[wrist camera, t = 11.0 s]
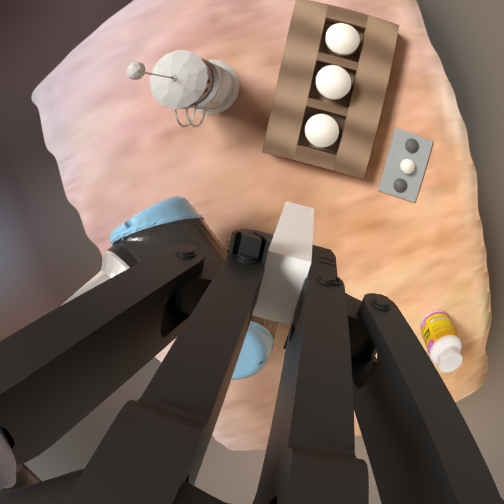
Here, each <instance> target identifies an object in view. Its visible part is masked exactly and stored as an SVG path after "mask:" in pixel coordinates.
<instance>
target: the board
mask: <svg viewBox="0 0 504 504" xmlns="http://www.w3.org/2000/svg"><path fill="white" fill-rule="evenodd" d="M337 23H344V24H348V25H350V26H352V27H353V28H354V29H355V30H356V31H357V32H358V34H359V37H360V43H359V45H358V47H357V49H356V51H355V52H354V53H353V54H352V55H350V56H347V57H338V56H336V55H334V54H332V53H331V52H330V51H329V50H328V49H327V47H326V44H325V38H326V32H327V30H328V29H329V27H331V26H332V25H334V24H337ZM398 29H399V25H397V24H394V23H391V22H388V21H385V20H382V19H379V18H376V17H373V16H370V15H366V14H363V13H359V12H356V11H352V10H348V9H345V8H341V7H337V6H332V5H328V4H323V3H319V2H314V1H309V0H296V1H295V5H294V10H293V14H292V19H291V23H290V27H289V32H288V36H287V41H286V45H285V49H284V54H283V58H282V63H281V67H280V72H279V76H278V81H277V85H276V90H275V95H274V99H273V104H272V108H271V113H270V117H269V122H268V127H267V131H266V136H265V140H264V145H263V150H262V152H263V153H267V154H271V155H276V156H280V157H284V158H288V159H292V160H296V161H300V162H304V163H308V164H311V165H315V166H319V167H322V168H326V169H330V170H333V171H337V172H340V173H344V174H347V175H350V176H354V177H357V178H360V179H364V176H365V172H366V169H367V165H368V162H369V158H370V154H371V151H372V147H373V143H374V139H375V135H376V132H377V128H378V124H379V120H380V115H381V111H382V107H383V103H384V99H385V94H386V90H387V85H388V81H389V76H390V71H391V66H392V61H393V56H394V51H395V46H396V40H397V35H398ZM329 65H336V66H339V67H341V68H343V69H344V70H346V71H347V73H348V74H349V76H350V78H351V88H350V90H349V92H348V93H347V94H346V95H345V96H344V97H342V98H340V99H337V100H330V99H327V98H325V97H323V96H322V95H321V94H320V93H319V92H318V90H317V88H316V76H317V74H318V72H319V71H320V70H321V69H322V68H323V67H325V66H329ZM317 114H325V115H328V116H330V117H332V118H333V119H334V120H335V121H336V123H337V125H338V128H339V135H338V138H337V140H336V141H335V142H334V143H333V144H332V145H330V146H328V147H317V146H315V145H313V144H312V143H310V142H309V140H308V139H307V137H306V135H305V125H306V123H307V121H308V120H309V119H310V118H311V117H312V116H314V115H317Z"/></svg>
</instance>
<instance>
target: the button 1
mask: <svg viewBox="0 0 504 504" xmlns="http://www.w3.org/2000/svg"><path fill="white" fill-rule="evenodd" d="M305 135H306V137H307V139H308V140H309V142H310V143H312V144H313V145H315V146H317V147H328V146H330V145H332V144H333V143H334V142H335V141H336V140H337V138H338V135H339V128H338V125H337V123H336V121H335V120H334V119H333V118H332V117H330V116H328V115H325V114H317V115H314V116H312V117H311V118H310V119H309V120H308V121H307V123H306V125H305Z"/></svg>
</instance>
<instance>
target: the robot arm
mask: <svg viewBox="0 0 504 504" xmlns="http://www.w3.org/2000/svg"><path fill="white" fill-rule="evenodd" d="M313 220H314V209H313V208H310V207H306V206H302V205H298V204H295V203H291V202H287V201H286V203H285V206H284V209H283V211H282V214H281V217H280V220H279V222H278V225H277V228H276V230H275V233H274V235H270V234H266V233H263V232H259V231H255V230H248V229H240V230H235V231H234V232H233V233H232V238H231V243H230V245H229V246H228V247H227V248H226V249H225V248H224V247H223V246H222V244H221V243H220V242H219V240H218V239H217V238H216V236H215V235H214V234H213V232H212V231H211V229H210V228H209V227H208V225H207V224H206V223H205V221H204V218H203V216H201V215H199V214H198V213H197V211H196V210H195V209H194V208H193V206H192V205H191V204H190V203H189V201H188V200H186V199H185V198H183V197H179V196H175V197H170V198H167V199H164V200H162V201H160V202H158V203H156V204H154V205H152V206H150V207H148V208H146V209H144V210H143V211H141V212H139V213H138V214H136V215H134V216H133V217H131V219H130V220H127V221H126V222H125V223H123V224H121V225H120V226H118V227H117V228H116V229H115V230H114V231H113V232H112V233H111V234H110V240H111V241H110V242H111V244H112V245H113V246H112V247H111V248H109V249H108V250H107V251H106V252H105V253H104V255H103V263H102V269H101V271H100V272H99V273H98V274H97V275H96V276H94V278H92V279H91V280H90V281H89V282H87V283H86V284H85V285H84V286H83V287H82V288H80V289H79V290H78V291H77V292H76V293H75V294H74V295H72V296H71V297H70V298H69V299H68V300H67V301H66V302H64V303H63V304H62V305H61V306H60V307H58V308H57V309H55V310H53V311H51V312H50V313H48V314H46V315H44V316H43V317H41V318H39V319H38V320H36V321H34V322H32V323H31V324H29V325H27V326H26V327H24V328H22V329H20V330H19V331H17V332H15V333H14V334H12V335H11V336H9V337H7V338H6V339H4V340H2V341H1V342H0V504H229V503H225V502H223V501H221V500H219V499H217V498H215V497H213V496H211V495H209V494H208V493H206V492H204V491H202V490H200V489H199V488H197V487H195V486H194V484H195V481H196V478H197V475H198V472H199V469H200V467H201V464H202V461H203V458H204V455H205V452H206V450H207V447H208V444H209V441H210V439H211V436H212V433H213V430H214V427H215V424H216V422H217V419H218V416H219V413H220V410H221V407H222V405H223V402H224V399H225V396H226V393H227V390H228V387H229V384H230V381H231V380H236V379H243V378H247V377H249V376H252V375H254V374H255V373H257V372H258V371H260V370H261V369H262V368H263V367H264V365H265V364H266V362H267V360H268V357H269V354H270V352H271V350H272V347H273V344H274V337H275V332H276V326H277V322H278V323H282V324H286V325H290V326H291V328H290V331H289V334H288V337H287V339H286V342H285V345H284V349H286V352H285V358H284V363H283V369H282V374H281V380H280V385H279V390H278V396H277V401H276V406H275V411H274V416H273V421H272V426H271V431H270V435H269V440H268V445H267V450H266V454H265V459H264V463H263V468H262V473H261V477H260V481H259V485H258V489H257V493H256V496H255V499H254V501H253V504H368V497H369V496H368V494H369V489H368V488H369V485H368V484H369V483H368V468H367V464H366V462H365V461H364V460H362V459H357V458H356V456H355V451H354V450H355V447H354V411H355V414H356V417H357V421H358V424H359V427H360V430H361V434H362V437H363V440H364V443H365V446H366V450H367V454H368V457H369V460H370V464H371V467H372V471H373V474H374V478H375V481H376V485H377V488H378V492H379V496H380V499H381V503H382V504H504V501H503V499H502V498H501V497H500V494H499V492H498V490H497V487H496V485H495V483H494V480H493V478H492V476H491V474H490V472H489V469H488V467H487V465H486V463H485V461H484V458H483V456H482V454H481V452H480V450H479V448H478V446H477V444H476V442H475V440H474V438H473V436H472V434H471V432H470V430H469V428H468V426H467V424H466V422H465V420H464V418H463V417H462V415H461V413H460V411H459V409H458V407H457V405H456V403H455V402H454V400H453V398H452V396H451V394H450V392H449V391H448V389H447V387H446V385H445V384H444V382H443V380H442V378H441V377H440V375H439V373H438V371H437V370H436V368H435V366H434V365H433V363H432V361H431V360H430V358H429V356H428V355H427V353H426V351H425V350H424V348H423V346H422V345H421V343H420V342H419V340H418V338H417V337H416V335H415V334H414V332H413V330H412V329H411V327H410V326H409V324H408V323H407V321H406V319H405V318H404V316H403V315H402V313H401V312H400V310H399V309H398V307H397V306H396V305H395V303H394V302H393V301H391V300H390V299H388V297H386V296H384V295H381V294H375V293H369V294H366V295H365V296H364V298H363V300H362V301H360V300H358V299H356V298H353V297H352V296H350V295H348V294H347V293H345V287H344V283H343V281H342V280H341V279H340V278H339V277H337V267H336V257H335V255H334V253H333V252H332V251H331V250H329V249H326V248H322V247H318V246H315V245H312V242H313ZM292 320H293V322H292ZM291 323H292V325H291ZM177 336H178V337H177ZM176 337H177V338H176ZM175 338H176V340H175V342H174V343H173V345H172V347H171V348H170V350H169V352H168V353H167V355H166V356H165V358H164V360H163V361H162V363H161V365H160V366H159V368H158V370H157V371H156V373H155V375H154V377H153V378H152V380H151V382H150V384H149V385H148V387H147V389H146V390H145V392H144V393H143V395H142V396H141V398H140V399H139V400H138V401H134V400H130V401H128V402H127V403H126V404H125V405H124V406H123V408H122V409H121V410H120V412H119V413H118V415H117V417H116V418H115V420H114V421H113V423H112V425H111V426H110V428H109V430H108V431H107V433H106V435H105V436H104V438H103V439H102V441H101V443H100V444H99V446H98V448H97V449H96V451H95V453H94V454H93V456H92V458H91V459H90V461H89V463H88V464H87V466H86V467H85V469H82V470H78V471H74V472H71V473H68V474H65V475H62V476H59V477H56V478H52V479H49V480H46V481H41V480H40V479H39V478H38V477H37V476H36V475H35V474H34V473H33V472H32V471H31V470H30V469H29V468H28V467H27V466H26V465H25V464H23V463H25V462H27V461H29V460H31V459H33V458H34V457H36V456H38V455H40V454H41V453H42V452H43V451H45V450H46V449H48V448H49V447H50V446H52V445H53V444H54V443H55V442H56V441H57V440H59V439H60V438H61V437H62V436H63V435H65V434H66V433H67V432H68V431H69V430H70V429H72V428H73V427H74V426H75V425H76V424H77V423H78V422H80V421H81V420H82V419H83V418H84V417H86V416H87V415H88V414H89V413H90V412H91V411H93V410H94V409H95V408H96V407H97V406H98V405H100V404H101V403H102V402H103V401H104V400H105V399H106V398H108V397H109V396H110V395H111V394H112V393H113V392H115V391H116V390H117V389H118V388H119V387H120V386H121V385H123V384H124V383H125V382H126V381H127V380H128V379H130V378H131V377H132V376H133V375H134V374H135V373H136V372H137V371H139V370H140V369H141V368H142V367H143V366H144V365H145V364H146V363H147V362H149V361H150V360H151V359H152V358H154V357H155V356H156V355H157V354H158V353H159V352H160V351H161V350H163V349H164V348H165V347H166V346H167V345H168V344H169V343H171V342H172V341H173V340H174V339H175ZM376 353H377V359H376V357H375V355H376Z"/></svg>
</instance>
